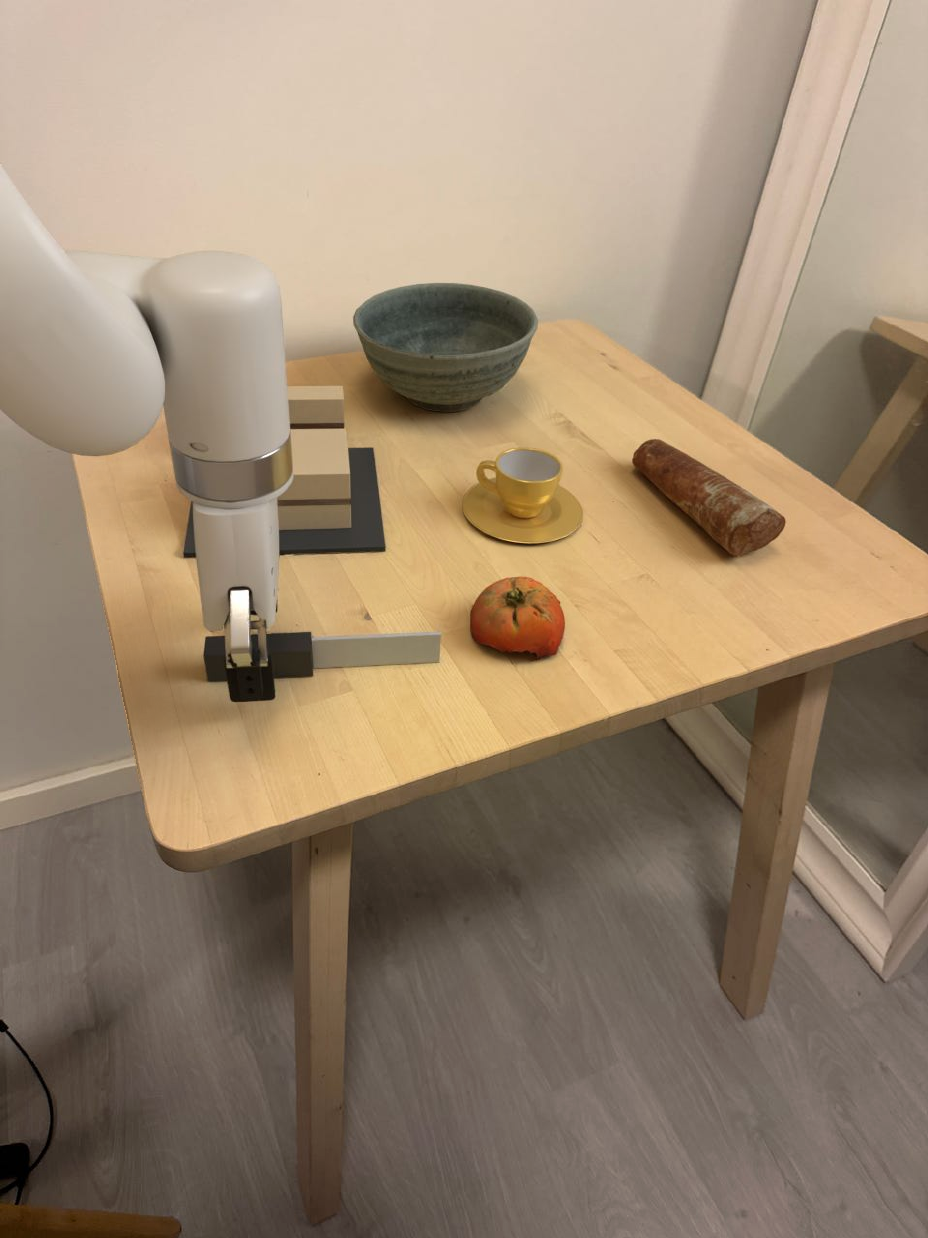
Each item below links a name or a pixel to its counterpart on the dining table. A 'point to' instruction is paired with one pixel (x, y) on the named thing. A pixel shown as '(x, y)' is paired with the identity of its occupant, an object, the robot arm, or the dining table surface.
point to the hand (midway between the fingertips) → (255, 653)
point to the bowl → (445, 341)
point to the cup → (522, 498)
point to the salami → (710, 498)
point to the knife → (329, 652)
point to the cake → (325, 498)
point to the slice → (316, 407)
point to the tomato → (518, 617)
